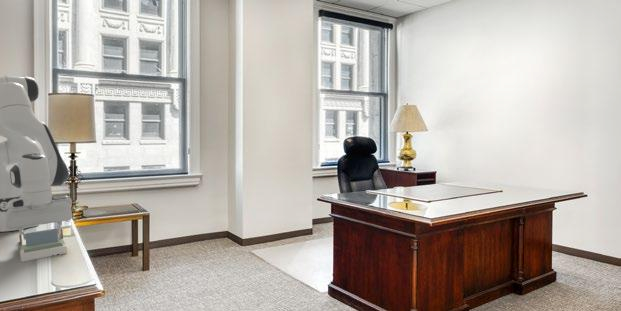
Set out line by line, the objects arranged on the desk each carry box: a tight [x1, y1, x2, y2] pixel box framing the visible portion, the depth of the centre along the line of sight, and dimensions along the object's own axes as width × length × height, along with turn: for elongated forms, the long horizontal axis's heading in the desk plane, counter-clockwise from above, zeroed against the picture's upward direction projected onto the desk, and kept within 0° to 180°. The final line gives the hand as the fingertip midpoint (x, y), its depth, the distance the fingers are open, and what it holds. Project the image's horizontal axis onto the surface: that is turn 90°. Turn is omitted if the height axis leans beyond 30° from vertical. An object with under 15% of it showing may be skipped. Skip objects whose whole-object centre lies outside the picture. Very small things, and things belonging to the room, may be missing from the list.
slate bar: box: [24, 227, 58, 247], centre depth 148 cm, size 4×10×4 cm, turn 125°
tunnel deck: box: [18, 226, 68, 262], centre depth 153 cm, size 33×13×6 cm, turn 35°
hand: (41, 236), depth 151 cm, fingers open, 8 cm apart
